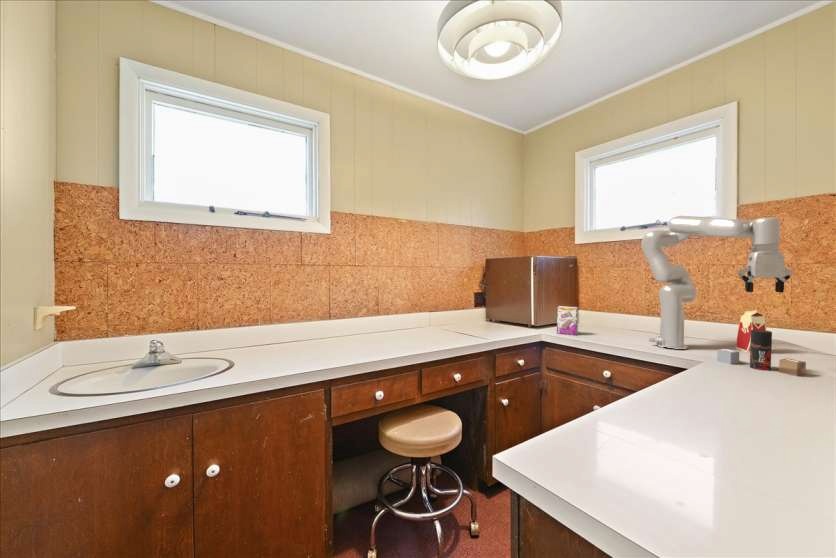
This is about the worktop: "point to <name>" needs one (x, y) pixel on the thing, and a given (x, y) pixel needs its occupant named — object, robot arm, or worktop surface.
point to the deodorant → (760, 349)
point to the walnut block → (792, 367)
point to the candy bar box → (567, 320)
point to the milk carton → (749, 328)
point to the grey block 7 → (728, 356)
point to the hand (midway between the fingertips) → (764, 292)
